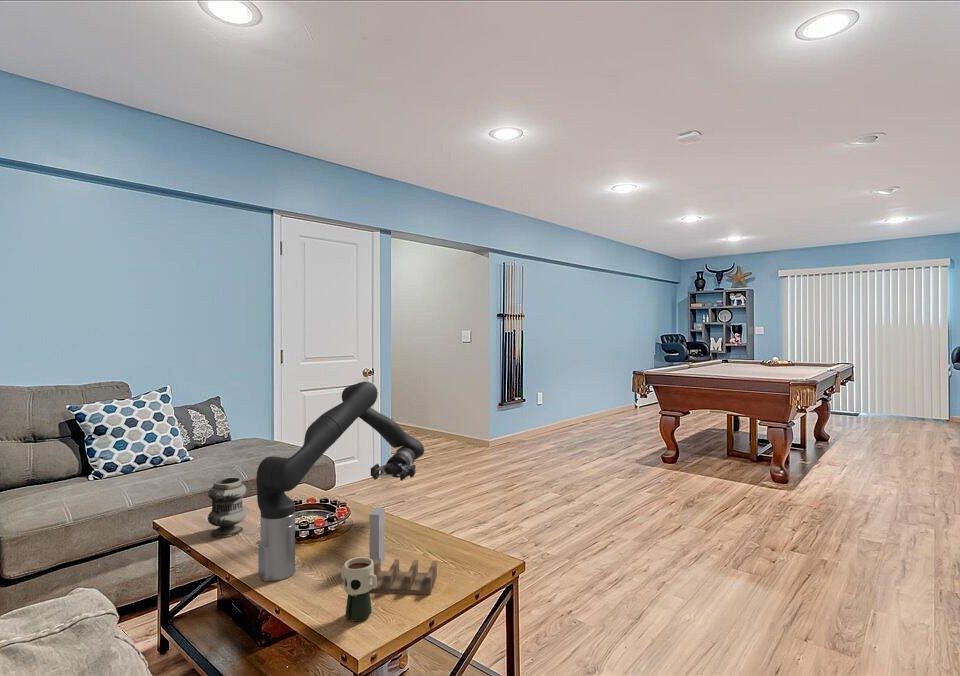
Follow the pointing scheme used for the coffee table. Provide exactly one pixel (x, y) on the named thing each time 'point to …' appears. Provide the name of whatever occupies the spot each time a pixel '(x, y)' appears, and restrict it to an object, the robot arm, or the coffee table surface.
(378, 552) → the clay strip
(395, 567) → the drying rack
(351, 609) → the character mug
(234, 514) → the grey stone urn vase
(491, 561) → the coffee table surface
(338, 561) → the coffee table surface
